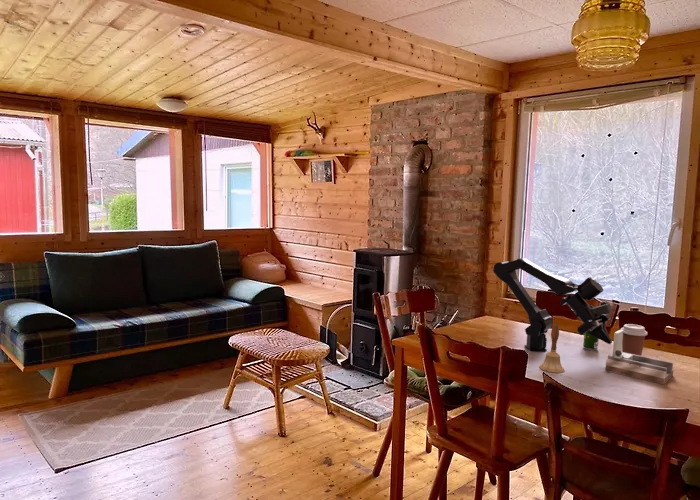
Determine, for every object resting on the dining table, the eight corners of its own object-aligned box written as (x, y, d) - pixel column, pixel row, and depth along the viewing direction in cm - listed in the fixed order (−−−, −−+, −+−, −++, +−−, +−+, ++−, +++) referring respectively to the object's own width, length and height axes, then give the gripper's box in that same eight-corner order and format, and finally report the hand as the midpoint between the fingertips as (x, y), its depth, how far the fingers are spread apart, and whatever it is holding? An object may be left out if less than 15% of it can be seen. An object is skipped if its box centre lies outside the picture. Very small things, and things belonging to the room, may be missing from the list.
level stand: (605, 370, 181) (606, 356, 180) (616, 362, 190) (617, 349, 189) (663, 384, 169) (665, 369, 168) (672, 375, 177) (674, 361, 177)
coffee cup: (616, 352, 203) (618, 322, 202) (642, 355, 200) (645, 324, 199) (620, 359, 194) (622, 327, 193) (647, 362, 191) (650, 330, 190)
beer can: (600, 349, 207) (602, 319, 205) (593, 351, 203) (596, 321, 202) (587, 345, 211) (589, 317, 209) (580, 348, 207) (582, 318, 206)
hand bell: (563, 366, 184) (567, 323, 182) (565, 374, 176) (568, 328, 174) (539, 363, 187) (542, 320, 185) (539, 371, 179) (542, 325, 177)
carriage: (608, 365, 180) (611, 334, 179) (617, 359, 186) (619, 329, 185) (624, 368, 176) (626, 337, 175) (632, 363, 183) (634, 332, 182)
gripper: (588, 298, 180) (620, 335, 174) (607, 291, 193) (637, 326, 187) (564, 316, 186) (594, 353, 180) (583, 309, 200) (612, 343, 193)
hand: (610, 343), depth 185 cm, fingers closed
